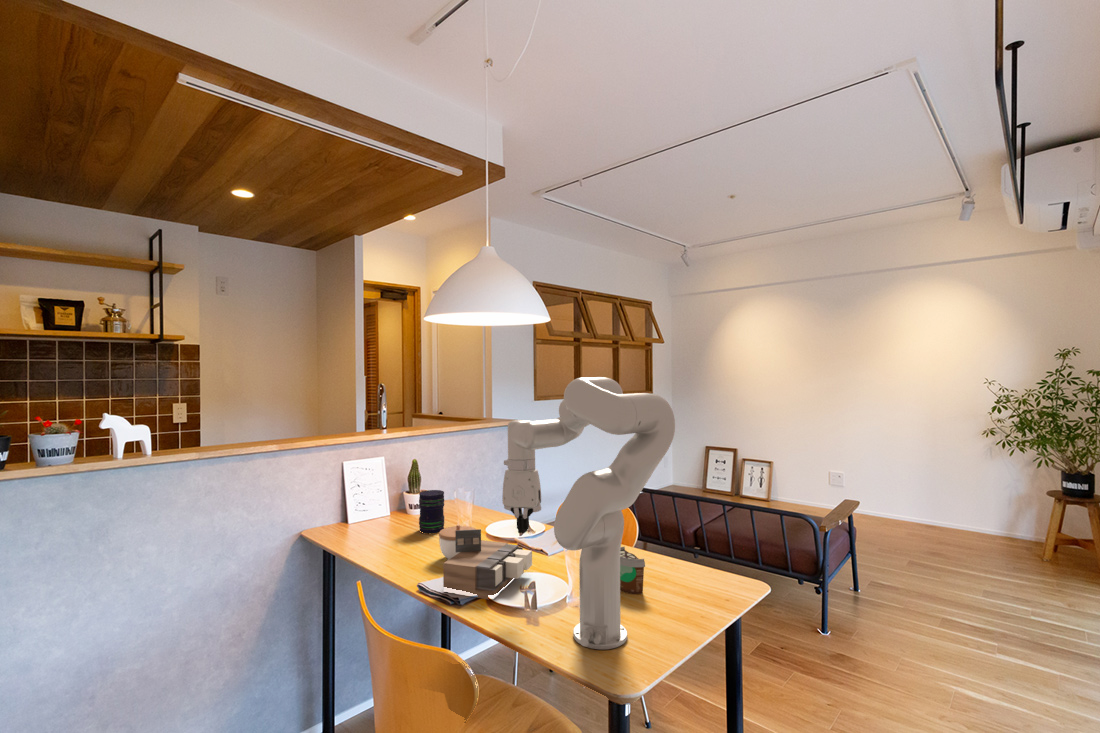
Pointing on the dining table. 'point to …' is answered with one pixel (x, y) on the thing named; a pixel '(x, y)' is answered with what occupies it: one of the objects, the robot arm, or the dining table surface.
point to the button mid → (514, 567)
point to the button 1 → (497, 573)
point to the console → (477, 564)
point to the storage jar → (431, 511)
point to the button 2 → (524, 557)
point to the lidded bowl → (450, 540)
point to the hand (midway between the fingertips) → (523, 531)
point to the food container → (631, 573)
